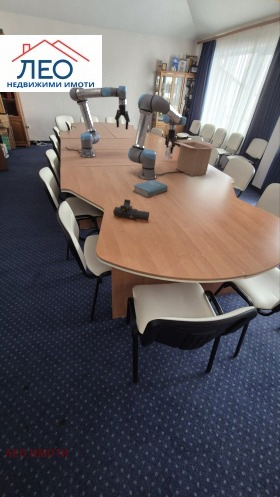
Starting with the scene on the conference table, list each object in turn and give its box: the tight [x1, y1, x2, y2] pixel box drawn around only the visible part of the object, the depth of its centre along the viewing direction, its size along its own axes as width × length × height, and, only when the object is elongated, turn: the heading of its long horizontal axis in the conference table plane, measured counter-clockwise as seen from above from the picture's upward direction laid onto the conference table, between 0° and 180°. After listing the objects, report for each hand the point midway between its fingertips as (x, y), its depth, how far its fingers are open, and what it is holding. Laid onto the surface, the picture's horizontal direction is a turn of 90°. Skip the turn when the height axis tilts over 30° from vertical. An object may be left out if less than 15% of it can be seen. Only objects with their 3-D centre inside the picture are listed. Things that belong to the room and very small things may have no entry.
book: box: [133, 179, 169, 198], centre depth 177 cm, size 23×16×5 cm
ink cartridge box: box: [164, 144, 175, 161], centre depth 244 cm, size 9×5×15 cm, turn 138°
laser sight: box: [112, 199, 150, 222], centre depth 138 cm, size 10×22×10 cm, turn 78°
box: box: [175, 139, 220, 177], centre depth 220 cm, size 44×36×27 cm
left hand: (122, 128), depth 235 cm, fingers open, 13 cm apart
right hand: (169, 152), depth 245 cm, fingers closed on ink cartridge box, 5 cm apart
